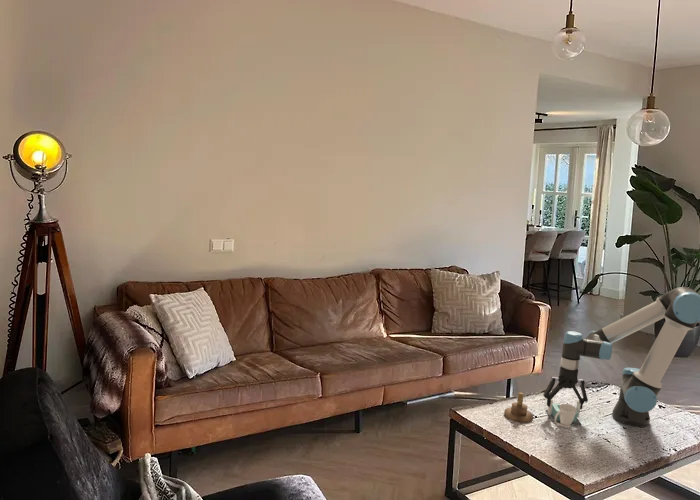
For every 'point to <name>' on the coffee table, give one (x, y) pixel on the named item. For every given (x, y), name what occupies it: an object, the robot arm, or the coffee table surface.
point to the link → (557, 408)
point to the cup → (566, 415)
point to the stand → (518, 411)
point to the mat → (560, 421)
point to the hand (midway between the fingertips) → (563, 414)
